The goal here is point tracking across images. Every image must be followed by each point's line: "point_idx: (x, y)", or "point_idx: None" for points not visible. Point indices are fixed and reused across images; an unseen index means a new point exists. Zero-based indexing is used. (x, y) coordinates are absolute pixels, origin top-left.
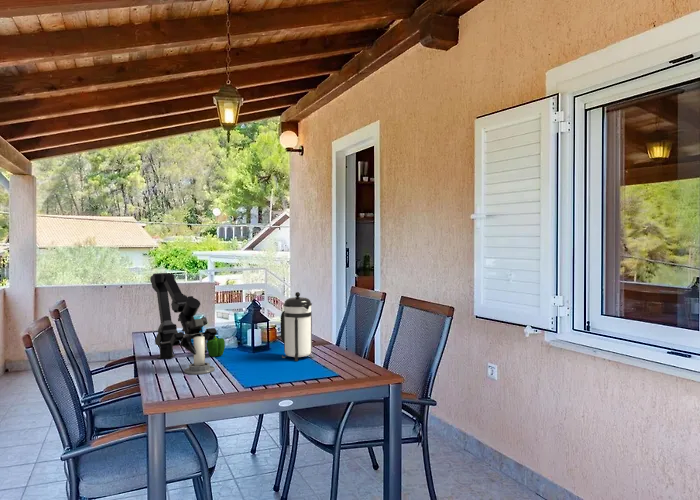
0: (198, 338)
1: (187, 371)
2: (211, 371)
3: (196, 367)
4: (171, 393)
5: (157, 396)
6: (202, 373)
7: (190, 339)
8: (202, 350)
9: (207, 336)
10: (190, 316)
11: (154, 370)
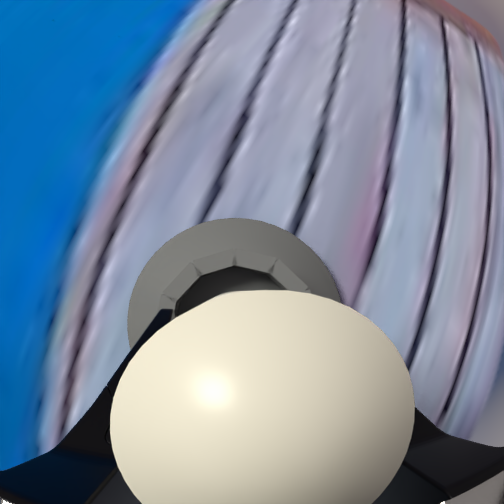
0: (356, 311)
1: None
2: (189, 230)
3: (292, 272)
4: (460, 66)
5: (491, 80)
6: (263, 223)
7: (422, 461)
8: (230, 292)
9: (24, 467)
10: None
11: None
